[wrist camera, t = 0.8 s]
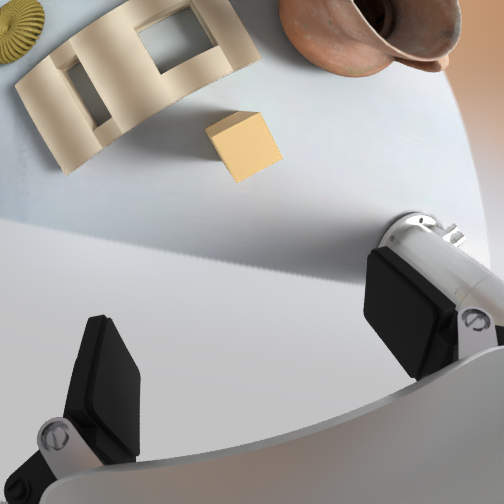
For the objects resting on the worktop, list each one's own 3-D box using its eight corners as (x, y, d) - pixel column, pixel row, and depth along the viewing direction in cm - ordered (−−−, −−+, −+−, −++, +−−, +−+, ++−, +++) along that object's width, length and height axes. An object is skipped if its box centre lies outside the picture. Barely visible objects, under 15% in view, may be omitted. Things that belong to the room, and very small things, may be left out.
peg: (238, 110, 30) (260, 112, 21) (255, 143, 32) (283, 158, 23) (204, 129, 30) (211, 137, 21) (222, 161, 32) (236, 183, 23)
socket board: (203, -24, 22) (205, -35, 19) (255, 62, 28) (261, 58, 25) (27, 86, 23) (14, 85, 20) (75, 169, 29) (66, 176, 26)
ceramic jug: (234, 20, 25) (268, -33, 13) (305, -55, 21) (363, -109, 9) (361, 115, 32) (447, 130, 20) (413, 37, 28) (497, 31, 16)
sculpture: (-32, 38, 15) (16, -19, 14) (-15, 42, 18) (31, -10, 17) (-5, 77, 18) (48, 16, 17) (13, 78, 22) (62, 24, 21)
